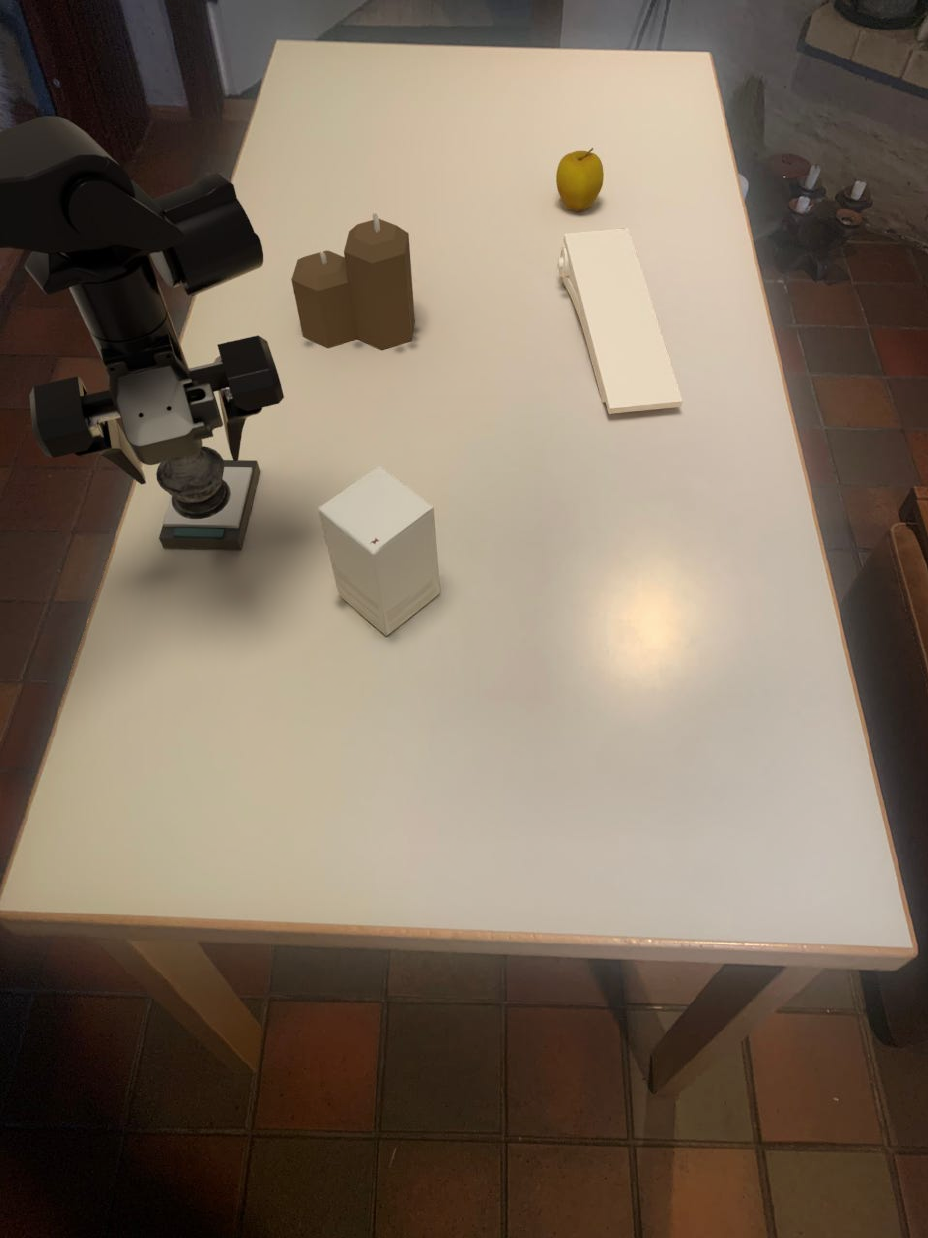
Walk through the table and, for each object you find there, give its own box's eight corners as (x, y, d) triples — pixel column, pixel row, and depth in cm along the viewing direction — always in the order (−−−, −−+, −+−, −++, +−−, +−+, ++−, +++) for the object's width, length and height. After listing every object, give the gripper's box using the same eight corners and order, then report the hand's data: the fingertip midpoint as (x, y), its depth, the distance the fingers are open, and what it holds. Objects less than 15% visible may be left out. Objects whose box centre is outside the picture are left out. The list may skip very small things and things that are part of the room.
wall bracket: (665, 443, 100) (617, 276, 112) (695, 402, 94) (640, 229, 106) (588, 438, 97) (547, 267, 109) (614, 395, 91) (567, 219, 103)
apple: (608, 205, 119) (616, 147, 112) (580, 224, 116) (586, 166, 110) (573, 188, 121) (579, 131, 115) (545, 206, 119) (549, 149, 112)
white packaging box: (442, 593, 82) (437, 507, 71) (385, 639, 79) (371, 555, 68) (392, 551, 85) (380, 462, 74) (335, 593, 82) (314, 507, 71)
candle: (443, 310, 106) (439, 194, 93) (377, 371, 100) (363, 255, 87) (358, 275, 110) (343, 159, 98) (290, 330, 104) (265, 215, 92)
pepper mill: (177, 530, 74) (130, 429, 64) (162, 485, 77) (115, 382, 67) (241, 509, 75) (205, 406, 65) (224, 465, 78) (187, 361, 68)
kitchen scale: (241, 550, 85) (236, 537, 83) (163, 548, 85) (156, 535, 83) (260, 470, 91) (256, 456, 89) (187, 469, 91) (181, 455, 90)
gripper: (-4, 421, 54) (89, 567, 67) (278, 356, 58) (315, 507, 71) (-10, 319, 60) (77, 471, 73) (247, 265, 64) (286, 420, 77)
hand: (189, 469), depth 73 cm, fingers closed on pepper mill, 8 cm apart
